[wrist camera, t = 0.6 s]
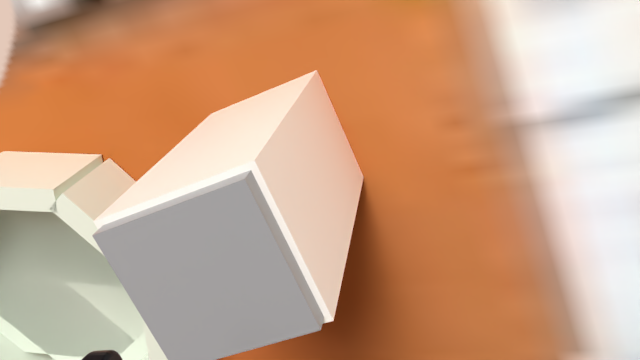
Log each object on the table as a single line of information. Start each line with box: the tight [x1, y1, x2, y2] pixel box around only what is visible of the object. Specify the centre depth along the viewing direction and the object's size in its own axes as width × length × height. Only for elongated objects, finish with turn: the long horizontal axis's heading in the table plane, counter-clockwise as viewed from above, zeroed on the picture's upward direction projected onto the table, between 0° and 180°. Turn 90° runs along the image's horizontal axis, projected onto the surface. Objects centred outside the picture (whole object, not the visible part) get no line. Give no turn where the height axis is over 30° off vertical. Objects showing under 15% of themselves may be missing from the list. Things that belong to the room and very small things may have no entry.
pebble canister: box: [92, 70, 364, 360], centre depth 21 cm, size 5×5×11 cm
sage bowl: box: [0, 151, 168, 360], centre depth 28 cm, size 13×13×4 cm
